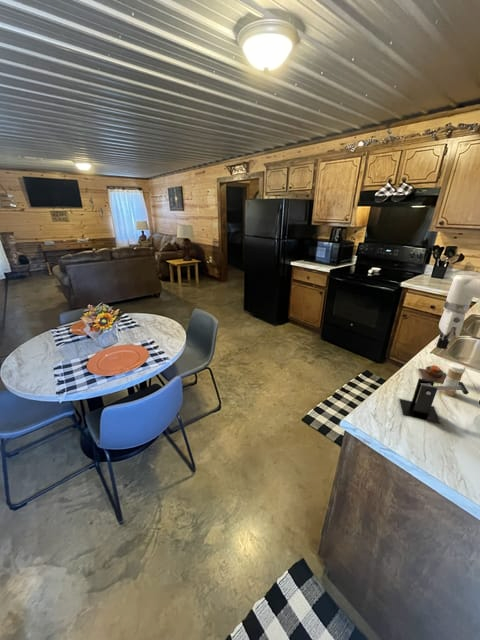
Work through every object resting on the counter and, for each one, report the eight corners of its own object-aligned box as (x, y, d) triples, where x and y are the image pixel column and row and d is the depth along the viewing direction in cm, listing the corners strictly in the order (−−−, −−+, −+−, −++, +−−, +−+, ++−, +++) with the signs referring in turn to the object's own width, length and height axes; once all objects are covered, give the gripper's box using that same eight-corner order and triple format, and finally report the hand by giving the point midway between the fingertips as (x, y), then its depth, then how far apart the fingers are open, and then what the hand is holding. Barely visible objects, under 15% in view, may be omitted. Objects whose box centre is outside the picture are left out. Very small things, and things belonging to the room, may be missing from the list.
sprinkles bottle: (446, 390, 106) (457, 361, 101) (457, 397, 102) (468, 368, 97) (436, 391, 106) (447, 363, 100) (447, 398, 101) (458, 369, 96)
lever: (463, 386, 88) (463, 380, 87) (468, 395, 84) (468, 389, 83) (420, 386, 93) (419, 380, 92) (423, 395, 89) (422, 389, 88)
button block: (443, 375, 116) (446, 368, 115) (449, 386, 109) (452, 379, 107) (417, 370, 119) (419, 364, 118) (421, 381, 112) (424, 374, 111)
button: (437, 369, 115) (438, 366, 114) (439, 373, 112) (441, 370, 111) (429, 368, 116) (430, 364, 115) (430, 371, 113) (432, 368, 112)
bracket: (432, 409, 96) (443, 380, 91) (439, 426, 89) (451, 395, 84) (398, 401, 100) (407, 373, 95) (402, 417, 92) (411, 387, 87)
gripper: (475, 314, 95) (457, 358, 102) (461, 302, 108) (446, 341, 115) (450, 311, 97) (435, 354, 105) (439, 299, 110) (426, 338, 117)
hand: (441, 347), depth 110 cm, fingers closed
